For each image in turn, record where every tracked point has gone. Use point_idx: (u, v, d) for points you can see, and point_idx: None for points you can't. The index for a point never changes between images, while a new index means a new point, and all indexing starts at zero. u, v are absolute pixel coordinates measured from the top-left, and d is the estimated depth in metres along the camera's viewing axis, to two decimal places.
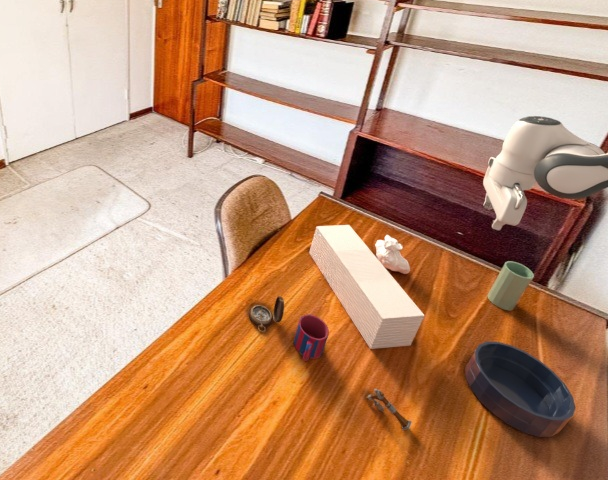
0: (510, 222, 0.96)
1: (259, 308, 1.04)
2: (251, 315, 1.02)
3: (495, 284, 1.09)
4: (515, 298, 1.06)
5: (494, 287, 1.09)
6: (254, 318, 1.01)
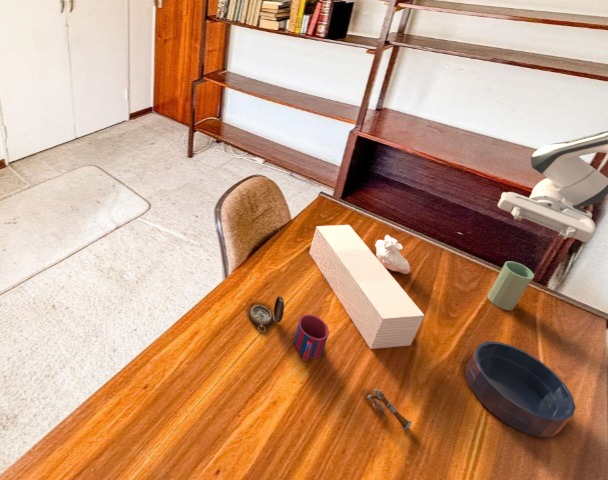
0: (499, 201, 1.19)
1: (259, 308, 1.04)
2: (251, 315, 1.02)
3: (495, 284, 1.09)
4: (515, 298, 1.06)
5: (494, 287, 1.09)
6: (254, 318, 1.01)
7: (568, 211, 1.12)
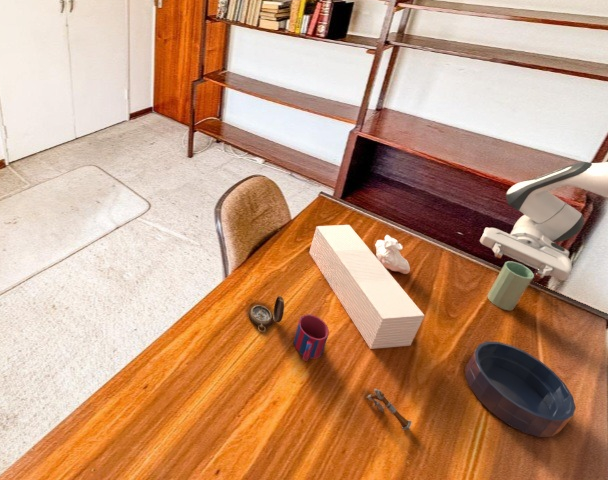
0: (481, 237, 1.24)
1: (259, 308, 1.04)
2: (251, 315, 1.02)
3: (495, 284, 1.09)
4: (515, 298, 1.06)
5: (494, 287, 1.09)
6: (254, 318, 1.01)
7: (546, 249, 1.16)
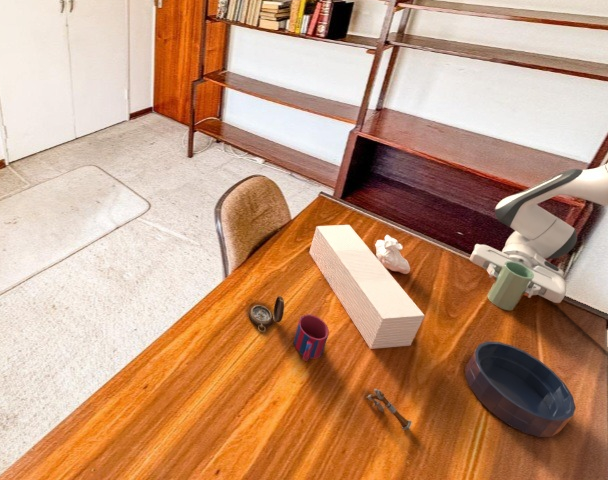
0: (471, 254, 1.17)
1: (259, 308, 1.04)
2: (251, 315, 1.02)
3: (495, 284, 1.09)
4: (515, 298, 1.06)
5: (494, 287, 1.09)
6: (254, 318, 1.01)
7: (540, 268, 1.10)
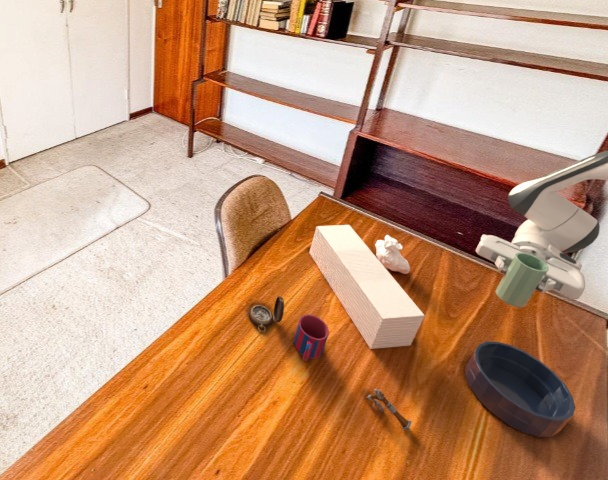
0: (477, 246, 1.06)
1: (259, 308, 1.04)
2: (251, 315, 1.02)
3: (504, 278, 0.97)
4: (527, 294, 0.94)
5: (503, 282, 0.98)
6: (254, 318, 1.01)
7: (554, 261, 0.98)
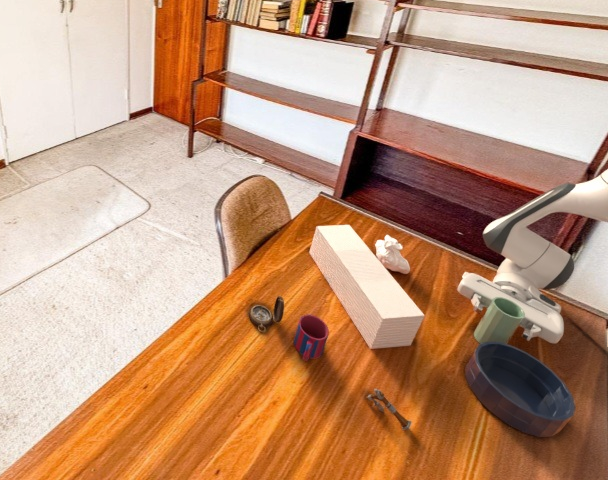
0: (459, 284, 1.06)
1: (259, 308, 1.04)
2: (251, 315, 1.02)
3: (482, 322, 0.98)
4: (504, 339, 0.94)
5: (481, 325, 0.98)
6: (254, 318, 1.01)
7: (534, 302, 0.98)
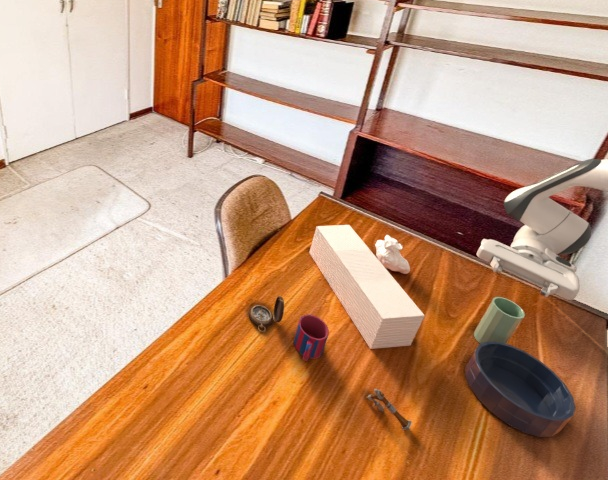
0: (478, 249, 1.11)
1: (259, 308, 1.04)
2: (251, 315, 1.02)
3: (482, 322, 0.98)
4: (504, 339, 0.94)
5: (481, 325, 0.98)
6: (254, 318, 1.01)
7: (551, 264, 1.04)
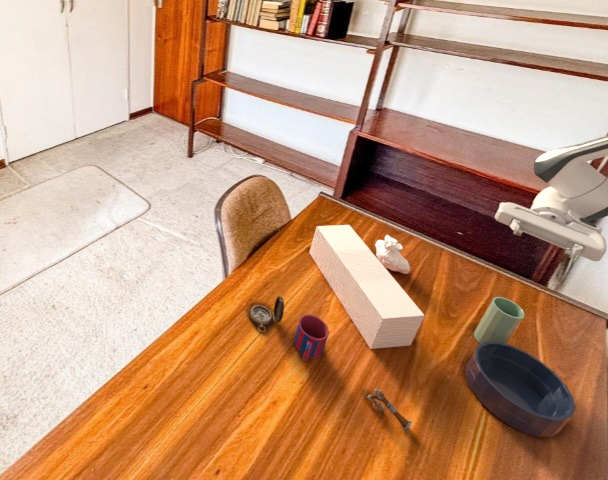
0: None
1: (259, 308, 1.04)
2: (251, 315, 1.02)
3: (482, 322, 0.98)
4: (504, 339, 0.94)
5: (481, 325, 0.98)
6: (254, 318, 1.01)
7: (575, 225, 0.98)
